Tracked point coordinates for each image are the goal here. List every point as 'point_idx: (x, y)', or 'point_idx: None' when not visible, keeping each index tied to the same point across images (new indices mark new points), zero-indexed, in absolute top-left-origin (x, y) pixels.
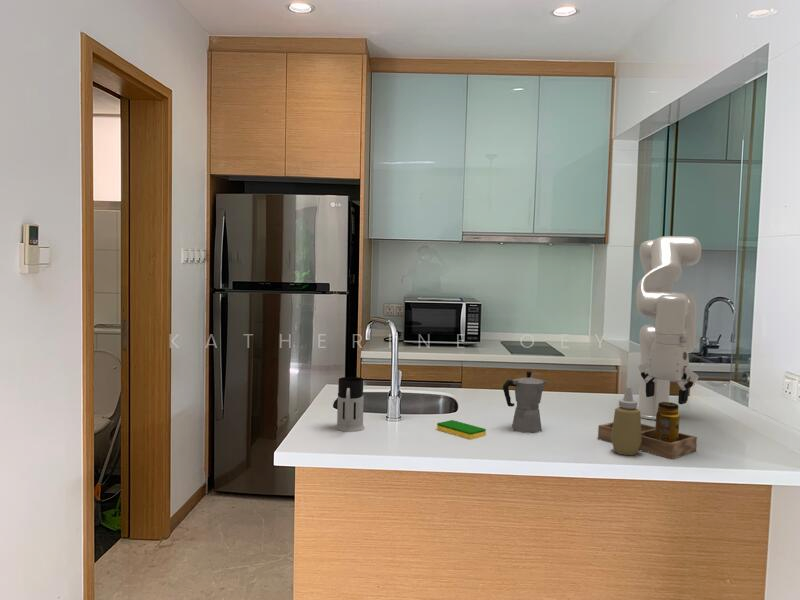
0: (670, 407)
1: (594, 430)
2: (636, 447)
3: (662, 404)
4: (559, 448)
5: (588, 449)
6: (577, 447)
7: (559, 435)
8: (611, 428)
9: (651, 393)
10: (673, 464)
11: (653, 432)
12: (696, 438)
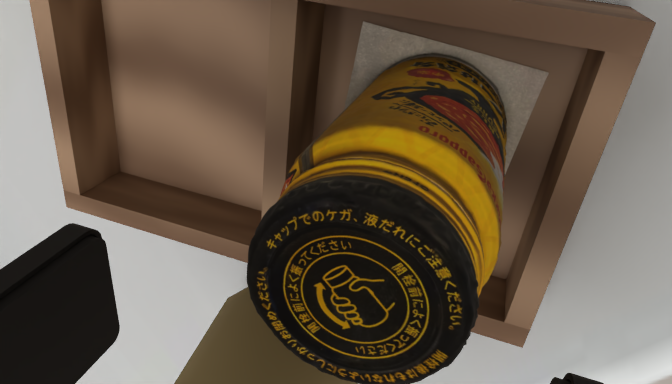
0: (415, 381)
1: (7, 28)
2: None
3: (316, 365)
4: (141, 378)
5: (199, 341)
6: (162, 339)
7: (23, 230)
8: (134, 222)
9: (85, 313)
10: (555, 360)
11: (299, 66)
12: (650, 25)
